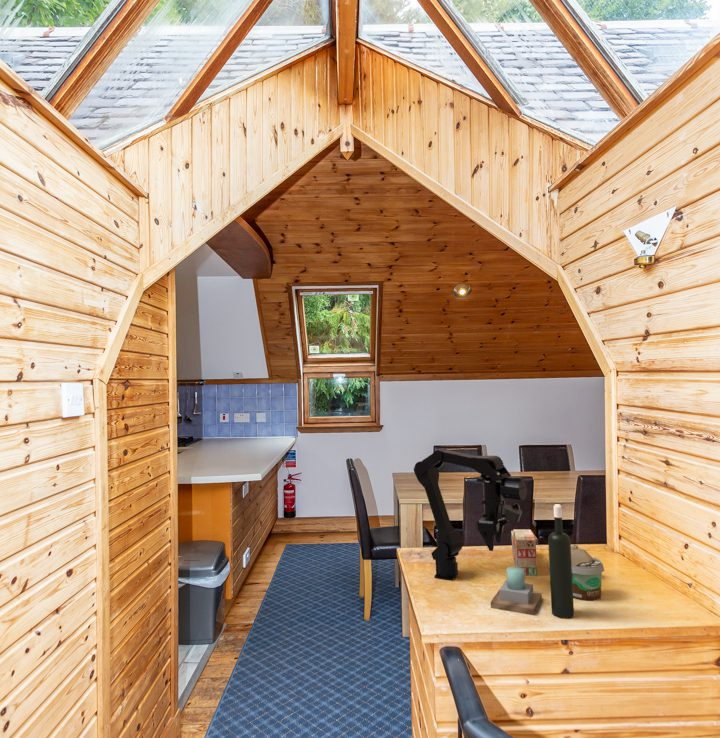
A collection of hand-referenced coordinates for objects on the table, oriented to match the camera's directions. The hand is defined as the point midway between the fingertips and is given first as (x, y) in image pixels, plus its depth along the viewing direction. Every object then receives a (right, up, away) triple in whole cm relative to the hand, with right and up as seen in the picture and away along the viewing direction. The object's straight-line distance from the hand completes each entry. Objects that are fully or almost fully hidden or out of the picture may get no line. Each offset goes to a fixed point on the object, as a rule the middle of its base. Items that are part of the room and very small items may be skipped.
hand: (495, 546), depth 166 cm
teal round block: (+3, -8, -12) cm, 14 cm away
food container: (+26, -12, -10) cm, 30 cm away
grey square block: (+3, -11, -12) cm, 16 cm away
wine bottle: (+14, -12, -20) cm, 27 cm away
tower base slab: (+3, -13, -12) cm, 18 cm away
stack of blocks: (+15, -14, +20) cm, 28 cm away
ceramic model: (+29, -13, +8) cm, 33 cm away
